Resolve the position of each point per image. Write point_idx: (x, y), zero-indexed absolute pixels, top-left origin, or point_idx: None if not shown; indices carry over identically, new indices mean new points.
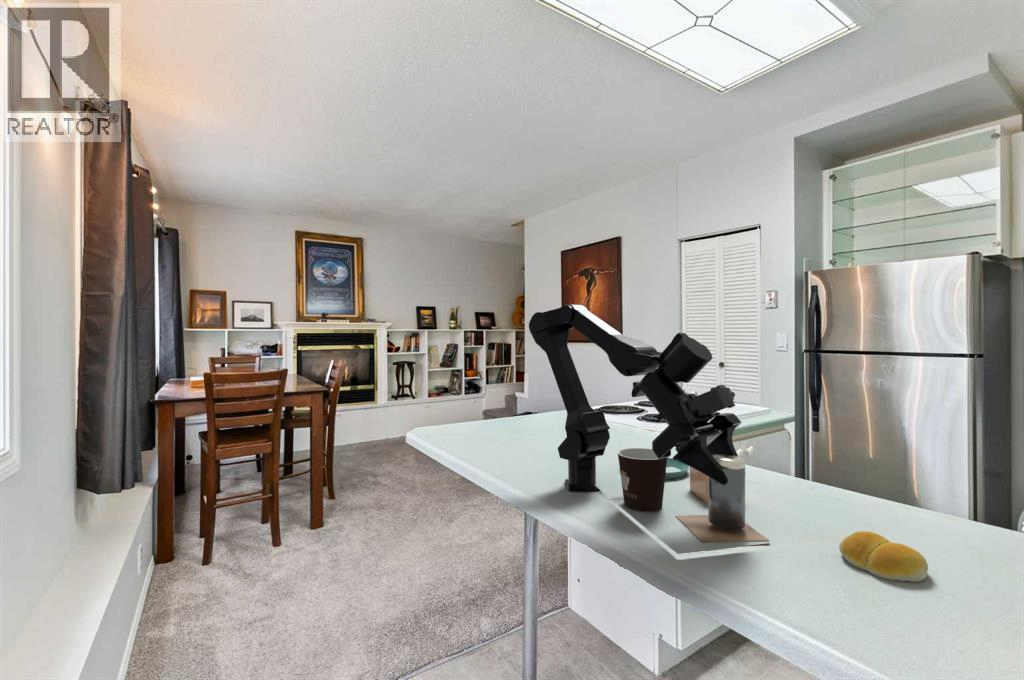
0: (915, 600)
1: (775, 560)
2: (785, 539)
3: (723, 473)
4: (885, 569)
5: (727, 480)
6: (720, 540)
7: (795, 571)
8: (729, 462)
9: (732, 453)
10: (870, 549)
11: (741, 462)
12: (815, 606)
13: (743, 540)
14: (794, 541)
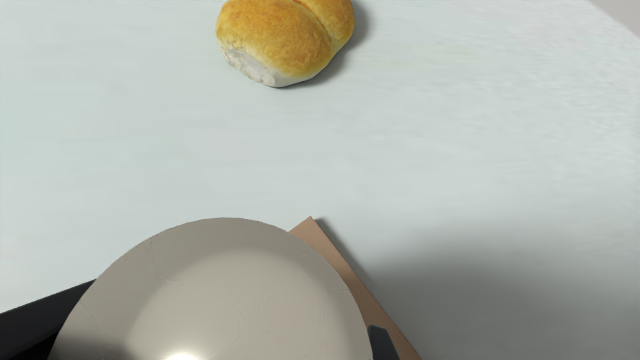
0: (403, 9)
1: (392, 197)
2: (243, 190)
3: (384, 358)
4: (353, 19)
5: (379, 326)
6: (399, 339)
7: (422, 157)
8: (345, 320)
9: (20, 355)
10: (315, 20)
11: (284, 233)
12: (547, 119)
13: (355, 276)
14: (245, 171)
